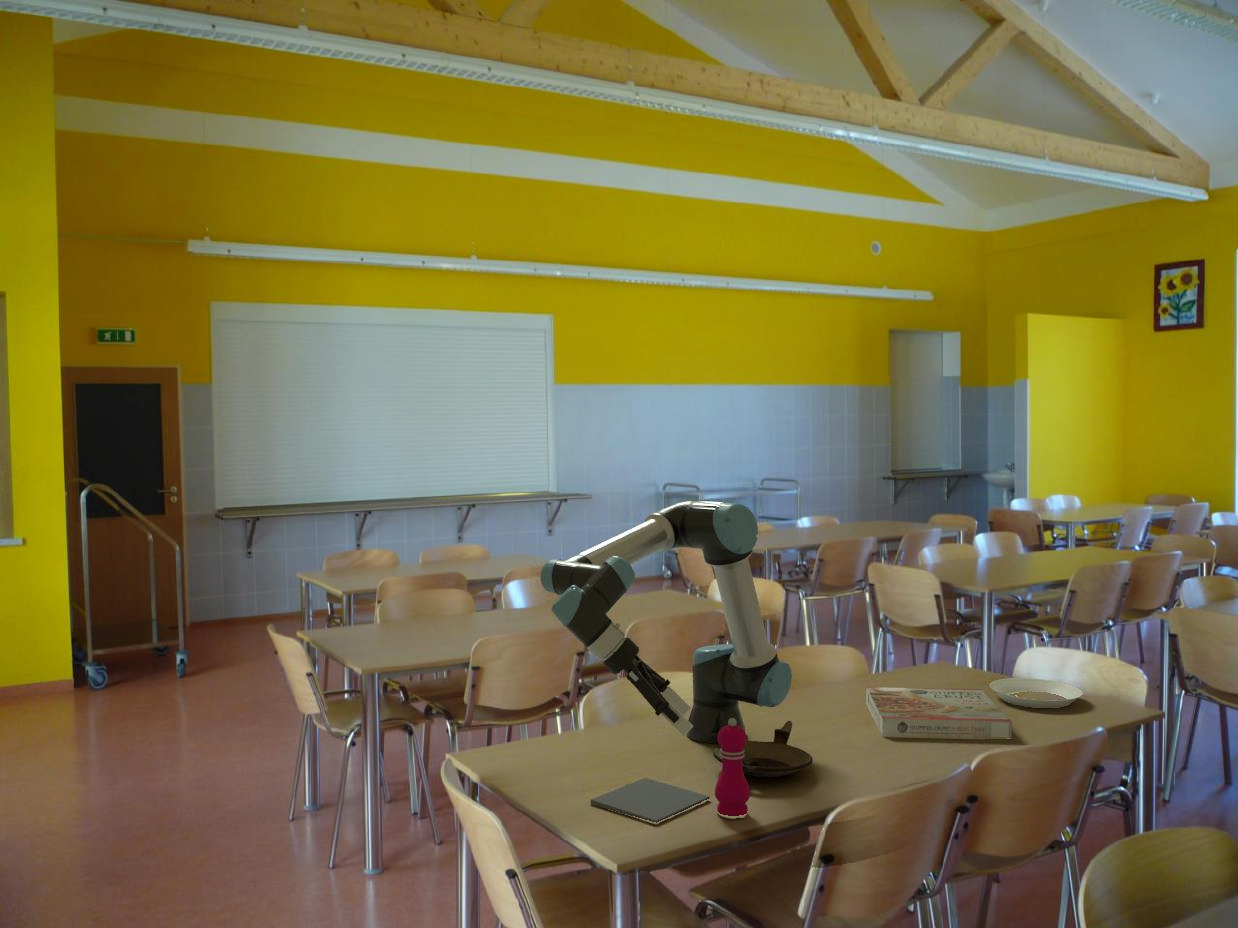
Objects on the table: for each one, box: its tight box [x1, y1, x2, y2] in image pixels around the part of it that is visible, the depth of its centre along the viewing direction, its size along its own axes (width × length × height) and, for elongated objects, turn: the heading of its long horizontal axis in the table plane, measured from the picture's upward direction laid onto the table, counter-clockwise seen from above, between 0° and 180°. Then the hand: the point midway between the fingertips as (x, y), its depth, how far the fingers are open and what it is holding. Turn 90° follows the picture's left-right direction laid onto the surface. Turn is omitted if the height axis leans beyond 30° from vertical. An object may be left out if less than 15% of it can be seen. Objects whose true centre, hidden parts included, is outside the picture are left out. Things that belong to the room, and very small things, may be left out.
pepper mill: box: [714, 718, 751, 816], centre depth 218 cm, size 7×7×20 cm
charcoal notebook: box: [590, 777, 711, 823], centre depth 225 cm, size 18×18×1 cm
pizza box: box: [865, 686, 1013, 740], centre depth 285 cm, size 32×5×32 cm
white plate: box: [989, 677, 1084, 709], centre depth 305 cm, size 25×25×4 cm
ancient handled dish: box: [712, 720, 814, 778], centre depth 246 cm, size 22×30×8 cm
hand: (687, 721), depth 218 cm, fingers open, 13 cm apart
